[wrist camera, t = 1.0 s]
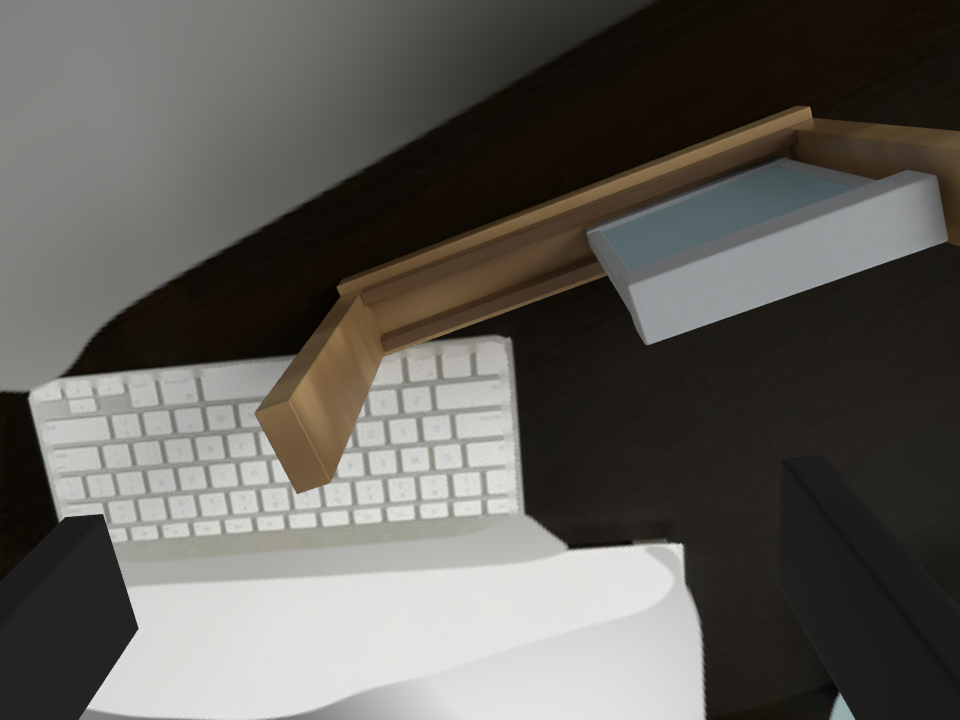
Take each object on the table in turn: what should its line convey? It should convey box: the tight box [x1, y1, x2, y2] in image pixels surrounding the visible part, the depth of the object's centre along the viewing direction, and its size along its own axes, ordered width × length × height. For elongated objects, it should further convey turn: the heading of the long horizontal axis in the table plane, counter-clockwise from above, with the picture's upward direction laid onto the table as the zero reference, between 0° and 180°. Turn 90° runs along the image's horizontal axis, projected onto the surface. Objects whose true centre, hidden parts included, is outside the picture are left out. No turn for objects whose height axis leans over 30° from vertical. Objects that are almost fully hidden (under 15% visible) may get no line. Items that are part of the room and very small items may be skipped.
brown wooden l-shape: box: [255, 106, 960, 494], centre depth 29 cm, size 4×22×15 cm, turn 111°
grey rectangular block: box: [584, 156, 948, 345], centre depth 28 cm, size 2×9×12 cm, turn 111°
